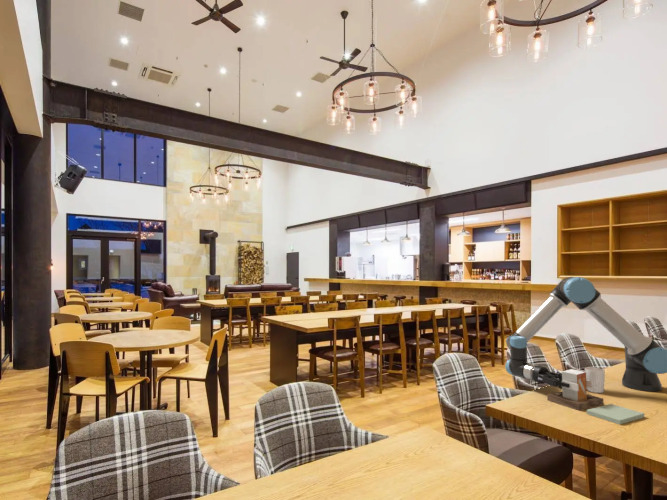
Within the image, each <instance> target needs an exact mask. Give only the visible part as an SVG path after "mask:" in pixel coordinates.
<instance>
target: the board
mask: <svg viewBox="0 0 667 500" xmlns="http://www.w3.org/2000/svg"><path fill="white" fill-rule="evenodd" d="M585 410H586V414H587V415H589V416H592V417H595V418H598V419H600V420H601V419H602V420H604V421H606V422H607V421H608V422H611V423H613V424H616V425H624V424H626V423H630V422H633V421H637V420H640V419H643V418H645V413H644V412H641V411H637V410H633V409H631V408H627V407H623V406H620V405H617V404H613V403H608V404H605V405H600V406H596V407H592V408H588V409H585Z"/></svg>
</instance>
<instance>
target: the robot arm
mask: <svg viewBox="0 0 667 500" xmlns="http://www.w3.org/2000/svg"><path fill="white" fill-rule="evenodd" d="M601 297H602V294H601V292H600V291H599V290H598V289H596V288H595V285H594V284H593V282H592V281H590V280H589V279H587V278H585V277H582V276H581V277H580V276H576V277H574V276H569V277H565V278H563V279H562V280H561V281H560V282H558V283H557V285H556V286H555V287H554V288H553V289H552V290H551V292H550V293H549V297H548V298H547V299H546V300H545V301H544V302H543V303H542V304H541V305H540V306H539V307H538V308H537V309H536V310H535V311H534V312H533V313H532V314H531V315H530V316H529V317H528V318H527V319H526V320H525V322H523V323H522V325H520V327H518V329H517V330H516V331H514V333H512V335H509V336H508V337H506V347H507V348H508V349H509V351H510V352H509V355H510V359H507V360H506V363H505V366H504V367H505V371H506V372H507V373H508V374H509V375H510V376H511V375H512V376H514V377H516V378H521V379H525V380H529V381H530V382H536V383H539V384H547V385H549V386H552V387H555V388H558V389H560V390H561V389H562V390H563V388H562V387H564V388H568V389H571V390H575V391H579V385H578V384H575V383H572V382H568V381H564V380H563V381H562V372H558V371H557V372H553V371H549V370H548V368H547V367H545V366H542V365H537V364H534V363H529V362H528V343H529V341H531V339H533V337H535V335H536V334H538V332H539V331H540V330H542V328H543V327H544V326H545V325H546V324H548V322H549V321H550V320H551V319H552V318H553V317H554V316H555V315H556V314H557V313H558V312H559V311H560V310H561V309H562V308H563V307H567V306H568V305H569V304H570V303H572V304H573V305H574V306H575V307H576V308H578V309H579V310H581V311H586V312H587V313H588V314H590V316H592V317H593V319H594V320H596V321H597V322H598V323H599V324H600V325H601V326H602V327H604V328H605V329H606V330H607V331H608V332H609V333H610V334H611V335H612V336H614V337H615V338H616V339H617V340H618V342H620V344H622V345H623V346H624V358H625V359H624V360H625V361H624V362H625V370H624V372H623V376H622V378H621V384H622V386H624V387H626V388H629V389H633V390H638V391H646V392H660V391H662V390H663V386H662V383H661V380H660V377H659V375H665V374H666V373H667V349H666V348H665V347H662V346H661V345H660V344H659V343H657V341H656V340H654V339H653V338H651V336H644V335H643V334H642V333H641V332H640V331H638V329H636V328H635V327H634V326H633V325H632V324H631V323H629V322H628V321H627V320H626V319H625V318H624V317H623V316H622V315H621V314H620V313H618V312H617V311H616V310H615V309H613V307H611V305H609V304H608V303H607V301H605V300H604V299H602V298H601ZM586 387H589V388H593V381H589V380H586Z"/></svg>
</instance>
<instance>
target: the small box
mask: <svg viewBox="0 0 667 500" xmlns="http://www.w3.org/2000/svg"><path fill="white" fill-rule="evenodd" d="M561 373H562V381H563V380H564V381H568V382H572V383H575V384H578V385H579V391H575V390H571V389H568V388H564V387H562V391H563V397H565V398H568V399H572V400H575V401H578V402H580V401H584V400H587V394H588V392H587V391H588V390H587V388H586V372H585V371H582V370H578V369H573V368H570V369H566V370H564V371H563V370H562V371H561Z"/></svg>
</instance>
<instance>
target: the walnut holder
mask: <svg viewBox="0 0 667 500" xmlns="http://www.w3.org/2000/svg"><path fill="white" fill-rule="evenodd" d="M546 395H547V396H546V397H547V398H546V400H547V401H549V402H551V403H555V404H558V405H560V406H564V407H567V408H570V409H573V410H575V411H578V412H579V411H583V410H584V411H585V410H588V409H592V408H596V407H600V406H604V397H599V396H596V395H592V394H589V393H587V400H584V401H580V402H578V401H575V400H572V399H568V398H565V397H563V390H562V391H558V392H553V393H552V392H551V393H548V394H546Z"/></svg>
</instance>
